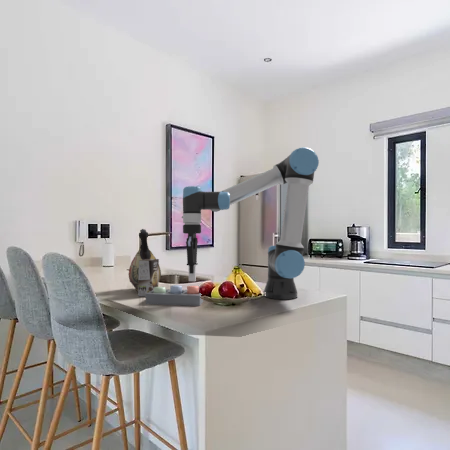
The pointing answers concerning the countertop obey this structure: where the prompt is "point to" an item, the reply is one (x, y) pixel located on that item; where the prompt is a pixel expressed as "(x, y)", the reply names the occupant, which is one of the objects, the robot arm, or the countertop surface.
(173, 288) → the button slate
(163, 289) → the button sage
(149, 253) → the ceramic jug
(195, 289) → the button coral
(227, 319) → the countertop surface
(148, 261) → the coffee box
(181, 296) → the panel
